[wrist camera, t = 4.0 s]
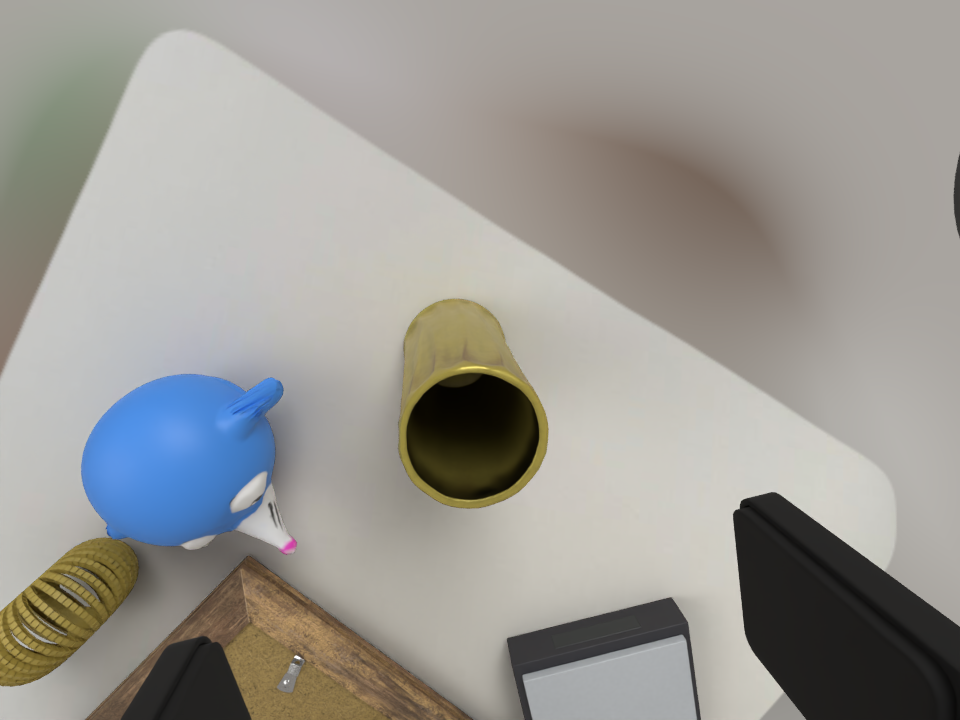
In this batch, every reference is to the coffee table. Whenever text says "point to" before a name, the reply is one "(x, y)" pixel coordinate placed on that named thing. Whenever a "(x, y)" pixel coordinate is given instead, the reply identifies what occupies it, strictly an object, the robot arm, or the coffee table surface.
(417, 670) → the coffee table surface
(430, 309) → the vase
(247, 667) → the picture frame
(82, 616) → the sculpture
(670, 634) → the scale
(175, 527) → the blue mole toy
